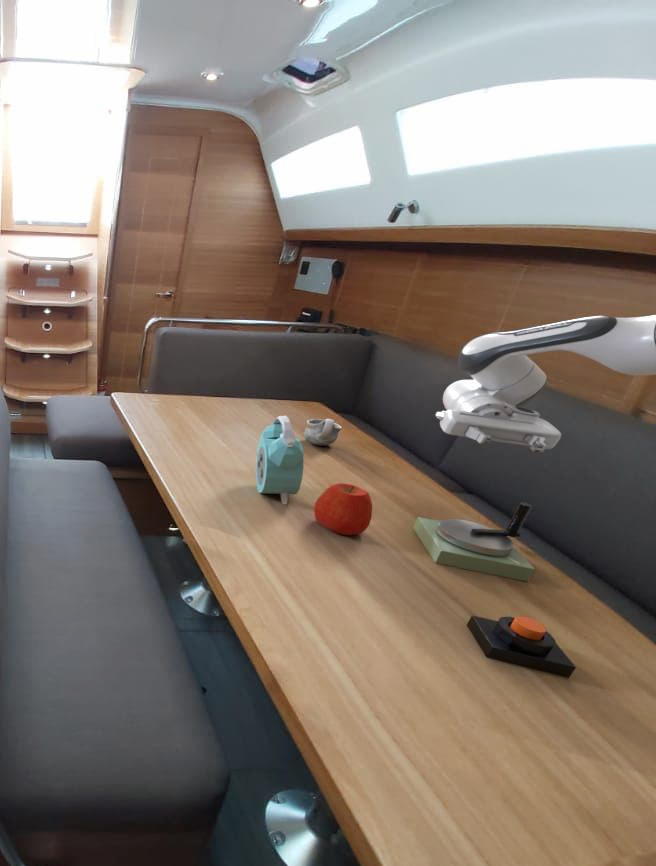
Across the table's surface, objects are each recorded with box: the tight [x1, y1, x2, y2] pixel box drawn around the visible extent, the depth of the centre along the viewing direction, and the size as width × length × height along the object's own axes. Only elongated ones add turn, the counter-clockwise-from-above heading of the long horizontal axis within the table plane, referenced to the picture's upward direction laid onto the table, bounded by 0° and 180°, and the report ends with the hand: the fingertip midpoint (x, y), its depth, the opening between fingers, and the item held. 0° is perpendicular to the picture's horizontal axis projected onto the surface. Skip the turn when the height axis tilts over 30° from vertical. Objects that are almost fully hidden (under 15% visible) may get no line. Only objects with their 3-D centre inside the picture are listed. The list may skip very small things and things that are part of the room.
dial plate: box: [412, 516, 536, 583], centre depth 104 cm, size 15×15×3 cm
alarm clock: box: [255, 415, 305, 505], centre depth 123 cm, size 17×10×20 cm, turn 165°
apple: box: [313, 482, 373, 536], centre depth 110 cm, size 11×11×11 cm
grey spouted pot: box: [303, 418, 342, 447], centre depth 158 cm, size 10×12×10 cm
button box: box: [466, 615, 577, 679], centre depth 78 cm, size 10×8×4 cm
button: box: [510, 615, 547, 641], centre depth 77 cm, size 4×4×2 cm
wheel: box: [436, 502, 533, 556], centre depth 101 cm, size 14×12×9 cm
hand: (513, 444), depth 104 cm, fingers open, 8 cm apart
